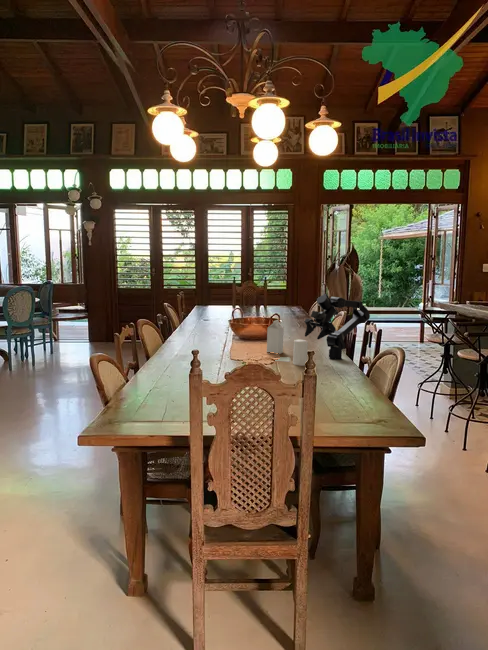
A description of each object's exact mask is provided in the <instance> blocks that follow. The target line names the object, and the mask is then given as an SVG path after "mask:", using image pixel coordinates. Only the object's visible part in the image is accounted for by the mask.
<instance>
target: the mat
mask: <svg viewBox="0 0 488 650" xmlns="http://www.w3.org/2000/svg"><path fill="white" fill-rule="evenodd" d="M279 357H280V359H278V360H275V361H274V362H291V357H287V356H286V357H285V356H284V357H283V356H279Z"/></svg>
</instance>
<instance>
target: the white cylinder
mask: <svg viewBox="0 0 488 650" xmlns="http://www.w3.org/2000/svg"><path fill="white" fill-rule="evenodd" d="M308 344H309V342H308V339H307V340H305V339H294V340H293V353H292V364H293V365H294V366H298V367H299V366H306V365H305V362H306V361H307V362H308V348H309V347H308Z"/></svg>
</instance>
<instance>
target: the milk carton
mask: <svg viewBox="0 0 488 650" xmlns="http://www.w3.org/2000/svg"><path fill="white" fill-rule="evenodd" d="M284 328H285V327H284V326H283V325H282V323H281V322H279V319H276V320H273V322H272V323H271V324H270V325H269V326H268V327H267V331H266V332H267V333H266V334H267V335H266V353H267V352H274V353H279V354H278V355H280V354H282V353H283V352H284V334H285V333H284V332H285V331H284V330H285V329H284Z"/></svg>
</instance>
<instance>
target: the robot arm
mask: <svg viewBox="0 0 488 650" xmlns="http://www.w3.org/2000/svg"><path fill="white" fill-rule="evenodd" d="M316 302H317V304H318V306H319V307H320V308H321V311H316V310H312V312H311V314H310V317H311V318H305V320H304V321H303V322H304V324H305V325H306V329H305V333H304V337H305V338H306V337H308V336H309V335H310V334H312V333H313V331H315V329H316V327H317V328H318V327H319V328H321V330H320V332H319V334H318V336H317V337H316V340H320V339H322V338H324V337H326V339H325V341H326V344H327V347H329V349H328V358H329V359H330V360H339V361H340V360H343V357H342V356H343V349H346V343H345V342H344V341H345V337H346V336H347V335H348V334H349V333H351V332H352V331H353V330H354V329H355V328H357V327H358V326H359V325H360V324H363V323H366V322H367V321H369V319H370V317H371V314H370V312H369V310H368V308H367V307H366V306H365V305H364V304H363V302H362V301H361V300H349V299H345V298H343V297H338V296H330V297H329V294H327V293H323V295H320V296H319V297H317V298H316ZM345 307H349V308H352V318H351V319H350V320H349V321H347V322H346V323H345V324H344V325H342V327H341V328H339V329H338V330H337V328H336V326H335V325H334V323H332V318H333V317H334V316H335V315H337V316H338V315H339V312H338V310H339V309H342V308H345ZM312 318H313V319H314V320H313V319H312Z"/></svg>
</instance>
